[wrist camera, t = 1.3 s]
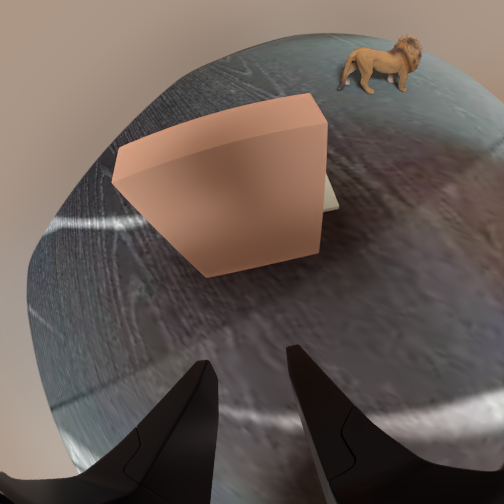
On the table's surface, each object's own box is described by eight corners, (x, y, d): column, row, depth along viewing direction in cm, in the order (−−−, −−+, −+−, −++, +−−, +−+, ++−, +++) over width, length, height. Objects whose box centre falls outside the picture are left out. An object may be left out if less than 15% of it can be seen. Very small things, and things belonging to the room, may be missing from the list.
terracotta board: (318, 253, 23) (327, 122, 10) (206, 278, 24) (111, 182, 11) (311, 227, 24) (309, 93, 11) (203, 252, 25) (119, 147, 12)
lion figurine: (401, 74, 32) (408, 29, 24) (423, 91, 30) (433, 44, 21) (328, 84, 32) (327, 31, 24) (349, 103, 30) (351, 45, 22)
